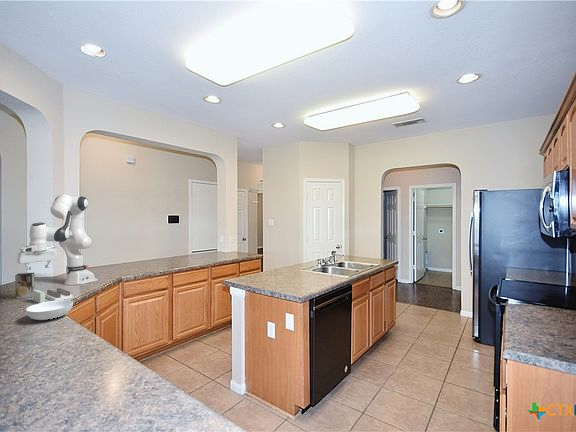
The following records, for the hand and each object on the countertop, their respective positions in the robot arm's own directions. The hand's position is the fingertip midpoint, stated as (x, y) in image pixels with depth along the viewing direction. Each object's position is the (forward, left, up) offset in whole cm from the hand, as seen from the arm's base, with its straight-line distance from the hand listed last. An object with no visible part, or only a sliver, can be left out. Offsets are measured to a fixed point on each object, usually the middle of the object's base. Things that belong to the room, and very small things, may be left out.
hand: (38, 268), depth 192 cm
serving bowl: (+7, +38, -22) cm, 44 cm away
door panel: (0, 0, -22) cm, 22 cm away
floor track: (-11, 0, -22) cm, 25 cm away
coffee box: (+1, -20, -22) cm, 30 cm away
